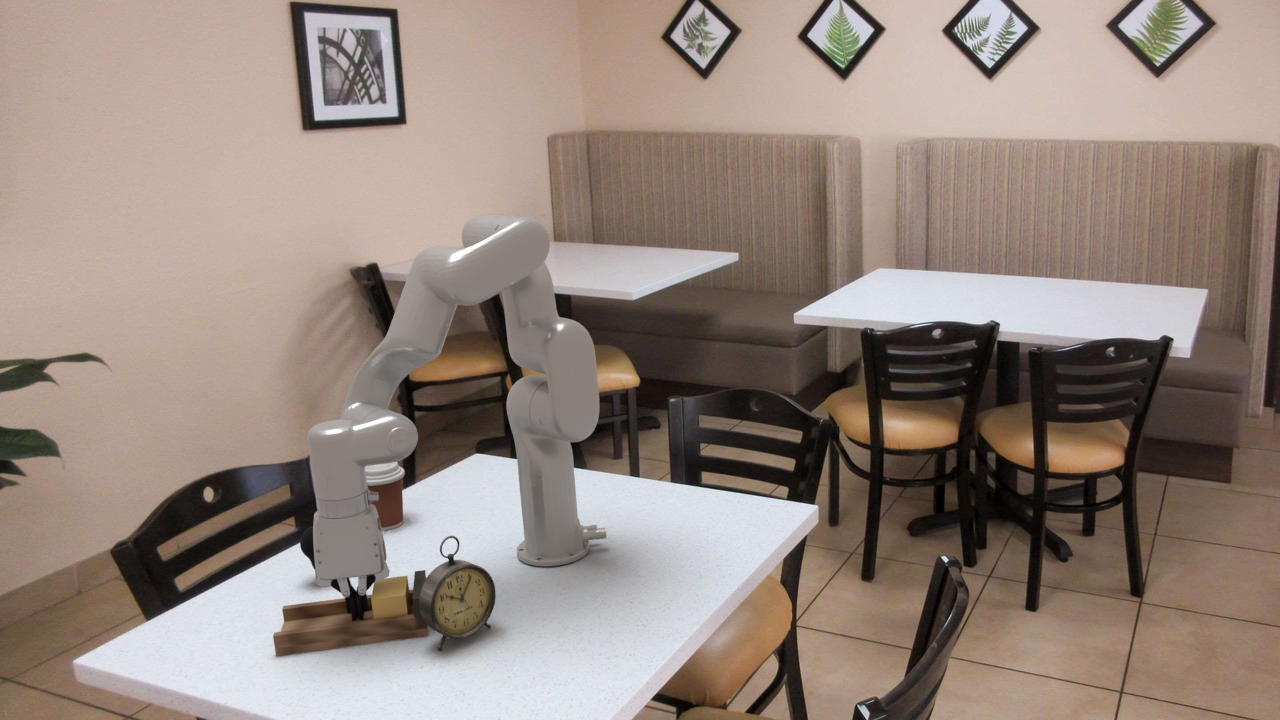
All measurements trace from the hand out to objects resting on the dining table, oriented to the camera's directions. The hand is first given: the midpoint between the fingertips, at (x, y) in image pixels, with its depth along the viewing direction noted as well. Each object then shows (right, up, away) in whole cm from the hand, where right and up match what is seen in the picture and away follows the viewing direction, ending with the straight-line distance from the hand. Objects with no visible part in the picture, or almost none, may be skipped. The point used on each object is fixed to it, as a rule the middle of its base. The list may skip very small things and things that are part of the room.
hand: (358, 616), depth 166 cm
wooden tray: (-1, -2, 0) cm, 2 cm away
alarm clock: (+16, -2, -4) cm, 17 cm away
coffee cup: (-5, +8, +42) cm, 43 cm away
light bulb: (-11, +1, +19) cm, 22 cm away
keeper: (+5, 0, +1) cm, 5 cm away
